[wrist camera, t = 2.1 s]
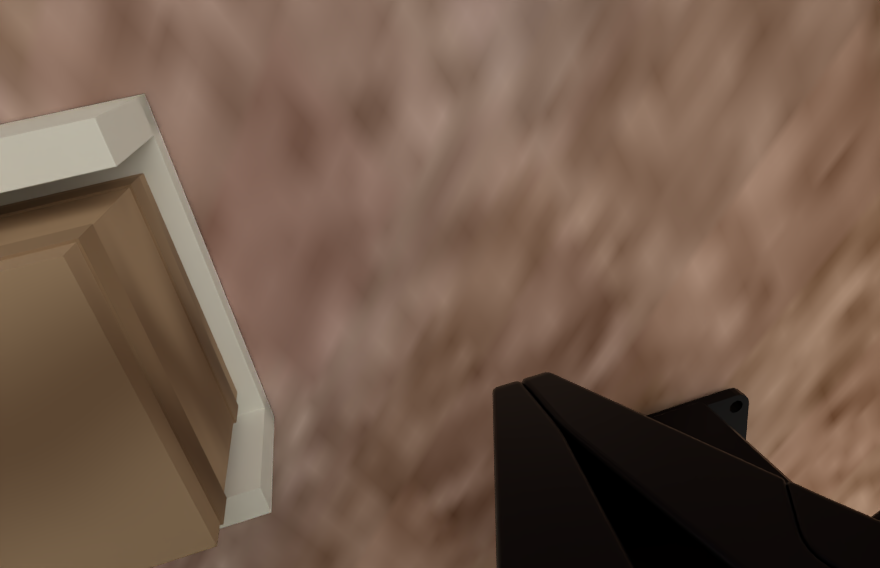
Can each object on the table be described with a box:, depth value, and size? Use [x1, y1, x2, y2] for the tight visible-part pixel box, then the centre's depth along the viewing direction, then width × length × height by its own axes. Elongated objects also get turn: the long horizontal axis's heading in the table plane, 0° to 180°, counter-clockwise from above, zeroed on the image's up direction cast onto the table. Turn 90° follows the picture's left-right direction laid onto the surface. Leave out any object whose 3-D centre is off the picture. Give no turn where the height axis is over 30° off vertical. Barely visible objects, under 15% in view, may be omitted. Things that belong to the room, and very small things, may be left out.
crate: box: [0, 173, 238, 568], centre depth 11 cm, size 6×6×5 cm
